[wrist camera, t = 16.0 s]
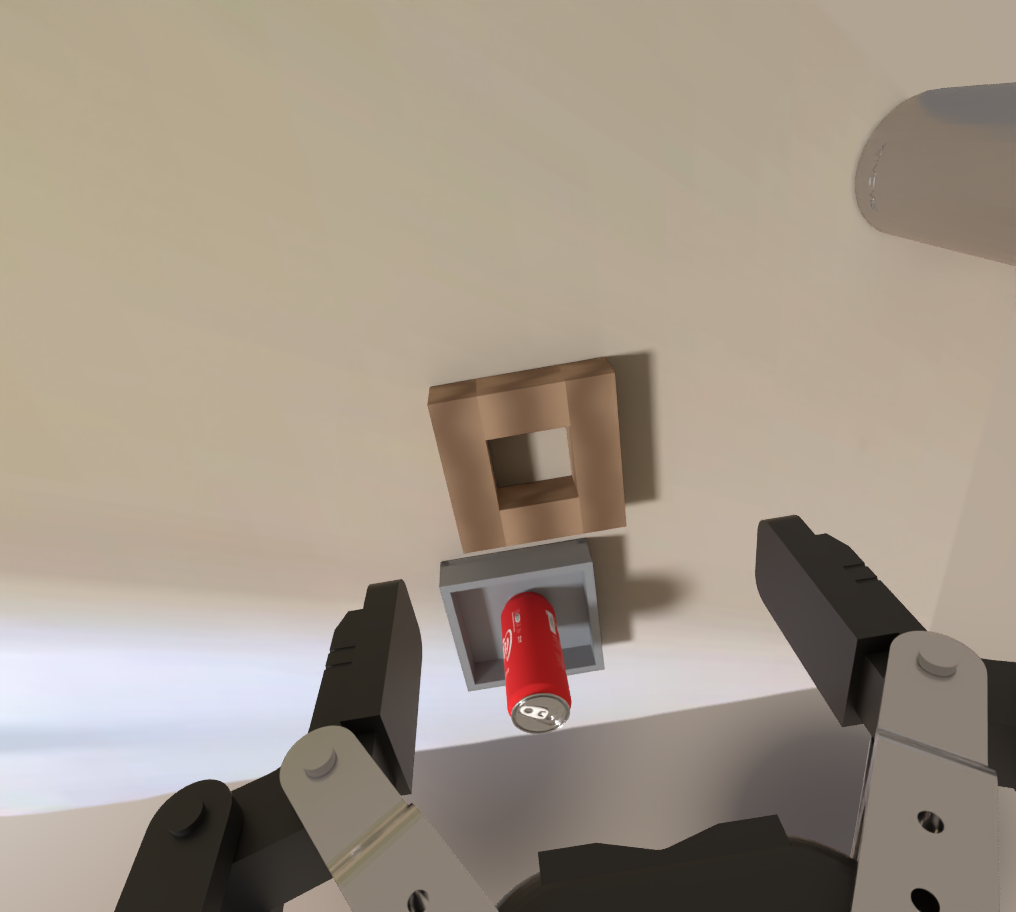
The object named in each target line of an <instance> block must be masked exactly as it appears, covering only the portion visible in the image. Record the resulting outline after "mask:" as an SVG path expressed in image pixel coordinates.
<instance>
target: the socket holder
mask: <svg viewBox="0 0 1016 912" xmlns="http://www.w3.org/2000/svg"><path fill="white" fill-rule="evenodd" d="M428 409H429V413H430V417H431V421H432V426H433V430H434V434H435V438H436V442H437V446H438V450H439V454H440V458H441V462H442V466H443V471H444V475H445V479H446V483H447V487H448V491H449V495H450V499H451V503H452V507H453V512H454V516H455V520H456V524H457V528H458V532H459V536H460V540H461V544H462V548H463V553H469V552H475V551H481V550H487V549H493V548H499V547H505V546H511V545H517V544H523V543H529V542H535V541H541V540H547V539H553V538H559V537H565V536H571V535H577V534H583V533H589V532H595V531H601V530H607V529H613V528H619V527H625V526H626V514H625V501H624V487H623V474H622V461H621V448H620V434H619V421H618V408H617V394H616V381H615V372H614V370H613V369H612V367H611V366H610V364H609V362H608V361H607V359H606V358H605V357H601V358H595V359H590V360H584V361H578V362H572V363H566V364H561V365H555V366H549V367H543V368H537V369H532V370H526V371H520V372H514V373H508V374H503V375H497V376H491V377H485V378H479V379H474V380H468V381H462V382H456V383H450V384H445V385H439V386H433V387H430V390H429V397H428ZM561 427H566V429H567V438H568V446H569V454H570V462H571V470H572V476H567V477H561V478H555V479H549V480H544V481H538V482H532V483H526V484H520V485H514V486H508V487H502V488H497V484H496V479H495V474H494V468H493V463H492V458H491V453H490V448H489V443H488V440H490V439H496V438H502V437H508V436H514V435H520V434H526V433H531V432H537V431H543V430H549V429H555V428H561Z"/></svg>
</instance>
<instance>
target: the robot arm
mask: <svg viewBox="0 0 1016 912" xmlns="http://www.w3.org/2000/svg"><path fill="white" fill-rule="evenodd" d="M855 193H856V198H857V203H858V206H859V208H860V210H861V213H862V215H863V217H864V218H865V219H866V220H867V221H868V222H869V224H870V225H871V226H873V227H874V228H876V229H878V230H879V231H881V232H884V233H887V234H891V235H894V236H898V237H902V238H906V239H910V240H914V241H918V242H921V243H925V244H929V245H933V246H937V247H941V248H945V249H949V250H953V251H957V252H961V253H965V254H969V255H973V256H977V257H981V258H985V259H989V260H993V261H997V262H1001V263H1005V264H1009V265H1013V266H1016V83H1004V84H991V85H978V86H977V85H976V86H965V87H953V88H941V89H936V90H929V91H926V92H923V93H921V94H918V95H916V96H913V97H911V98H910V99H908V100H906V101H905V102H903V103H902V104H900V105H899V106H897V107H896V108H895V109H894V110H893V111H892V112H891V113H890V114H888V115H887V116H886V117H885V118H884V119H883V121H882V122H881V123H880V124H879V126H878V127H877V128H876V129H875V130H874V132H873V134H872V135H871V137H870V139H869V140H868V142H867V144H866V146H865V148H864V150H863V153H862V155H861V158H860V160H859V164H858V169H857V173H856V187H855ZM755 578H756V584H757V588H758V591H759V594H760V597H761V599H762V601H763V603H764V604H765V606H766V607H767V609H768V611H769V612H770V614H771V615H772V617H773V619H774V620H775V622H776V623H777V625H778V626H779V628H780V630H781V631H782V633H783V634H784V636H785V638H786V639H787V641H788V642H789V644H790V645H791V647H792V649H793V650H794V652H795V653H796V655H797V656H798V658H799V660H800V661H801V663H802V664H803V666H804V668H805V669H806V671H807V672H808V674H809V675H810V677H811V679H812V680H813V682H814V683H815V685H816V687H817V688H818V690H819V691H820V693H821V694H822V696H823V697H824V699H825V701H826V702H827V704H828V706H829V707H830V709H831V710H832V712H833V713H834V715H835V717H836V718H837V720H838V721H839V723H840V725H841V726H842V727H846V726H852V725H858V724H864V725H865V727H866V728H867V730H868V731H869V732H870V734H871V740H870V744H869V751H868V756H867V762H866V769H865V775H864V781H863V787H862V793H861V800H860V805H859V812H858V818H857V824H856V830H855V835H854V841H853V846H852V851H851V856H850V857H849V856H847V855H846V854H844V853H842V852H840V851H838V850H836V849H833V848H831V847H829V846H827V845H824V844H821V843H819V842H816V841H813V840H810V839H806V838H802V837H798V836H793V835H786V833H785V831H784V829H783V826H782V824H781V822H780V820H779V818H778V816H777V815H771V816H764V817H758V818H752V819H745V820H739V821H732V822H726V823H720V824H717V825H714V826H712V827H711V828H708V829H706V830H704V831H702V832H700V833H698V834H696V835H694V836H692V837H689V838H687V839H685V840H683V841H681V842H679V843H677V844H675V845H673V846H671V847H669V848H666V849H662V850H652V849H643V848H635V847H627V846H618V845H609V844H602V843H592V844H586V845H580V846H574V847H568V848H561V849H554V850H548V851H542V852H538V857H539V866H540V872H538V873H536V874H534V875H532V876H531V877H529V878H527V879H525V880H524V881H522V882H521V883H519V884H518V885H516V886H515V887H514V888H513V889H512V890H511V891H509V892H508V893H507V894H506V895H505V896H504V897H503V898H502V899H501V900H500V901H499V902H498V903H497V905H496V906H494V905H493V904H492V902H491V901H490V900H489V898H488V897H487V896H486V894H485V893H484V892H483V890H482V889H481V888H480V887H479V885H478V884H477V883H476V882H475V880H474V879H473V878H472V876H471V875H470V874H469V873H468V872H467V870H466V869H465V867H464V866H463V865H462V864H461V862H460V861H459V860H458V858H457V857H456V856H455V855H454V853H453V852H452V851H451V850H450V848H449V847H448V846H447V844H446V843H445V842H444V840H443V839H442V838H441V837H440V835H439V834H438V833H437V832H436V830H435V829H434V828H433V826H432V825H431V824H430V823H429V821H428V820H427V819H426V817H425V816H424V815H423V814H422V813H421V811H420V810H419V809H418V808H417V807H416V806H415V805H414V804H412V803H411V804H410V805H408V804H407V803H406V802H405V801H404V799H403V798H402V797H401V795H408V794H411V790H412V778H413V766H414V753H415V741H416V728H417V715H418V703H419V690H420V677H421V665H422V642H421V635H420V630H419V626H418V623H417V620H416V617H415V613H414V610H413V607H412V604H411V601H410V598H409V594H408V591H407V588H406V585H405V583H404V581H403V580H402V579H400V580H394V581H388V582H382V583H376V584H370V585H369V586H368V588H367V593H366V597H365V602H364V607H363V609H360V610H354V611H348V613H347V614H346V615H345V617H344V618H343V619H342V621H341V622H340V624H339V625H338V626H337V628H336V629H335V631H334V635H333V639H332V643H331V647H330V654H328V658H327V662H326V670H324V674H323V678H322V681H321V685H320V689H319V693H318V697H317V701H316V705H315V709H314V713H313V716H312V720H311V724H310V728H309V731H308V734H306V735H305V736H303V737H302V738H301V739H300V740H298V741H297V742H296V743H295V744H294V745H293V746H292V748H291V749H290V750H289V751H288V753H287V755H286V756H285V758H284V760H283V762H282V765H281V767H280V768H278V769H277V770H275V771H273V772H271V773H270V774H268V775H266V776H263V777H261V778H259V779H257V780H255V781H253V782H250V783H248V784H246V785H244V786H242V787H240V788H237V789H235V790H233V791H230V790H229V788H228V787H227V786H226V785H225V784H224V783H223V782H221V781H218V780H210V779H208V780H202V781H198V782H195V783H193V784H190V785H188V786H186V787H184V788H183V789H181V790H179V791H178V792H177V793H175V794H174V795H173V796H172V797H170V798H169V799H168V800H167V801H166V802H165V803H164V804H163V805H162V806H161V807H160V809H159V810H158V811H157V812H156V814H155V815H154V817H153V818H152V820H151V822H150V824H149V826H148V828H147V831H146V833H145V836H144V838H143V841H142V843H141V846H140V848H139V851H138V853H137V856H136V858H135V861H134V863H133V866H132V868H131V871H130V873H129V876H128V878H127V881H126V884H125V886H124V888H123V891H122V893H121V896H120V899H119V901H118V903H117V906H116V909H115V911H114V912H283V906H284V903H286V902H288V901H290V900H292V899H293V898H296V897H297V896H299V895H301V894H303V893H305V892H307V891H309V890H311V889H313V888H314V887H316V886H318V885H320V884H322V883H324V882H326V881H328V880H330V879H332V878H334V880H335V882H336V883H337V885H338V887H339V889H340V891H341V892H342V894H343V896H344V897H345V899H346V901H347V903H348V905H349V906H350V908H351V910H352V911H353V912H1000V889H999V887H1000V885H999V826H998V786H1002V787H1008V788H1014V789H1015V791H1016V662H1007V661H996V660H988V659H982V658H980V657H979V656H978V655H977V654H976V653H975V652H974V651H973V650H971V649H970V648H969V647H967V646H966V645H964V644H963V643H961V642H959V641H957V640H955V639H953V638H951V637H948V636H946V635H943V634H939V633H934V632H929V631H927V630H926V629H925V628H924V627H923V626H922V625H921V624H920V623H919V622H918V620H917V619H916V618H915V617H914V616H913V615H912V614H911V613H910V612H909V611H908V610H907V609H906V607H905V606H904V605H903V604H902V603H901V602H900V601H899V600H898V599H897V598H896V597H895V596H894V594H893V593H892V592H891V591H890V590H889V589H888V588H887V587H886V586H885V585H884V584H883V583H882V581H881V580H879V581H878V579H877V576H876V575H875V574H874V573H873V572H872V571H871V570H870V568H869V567H868V566H867V567H866V566H865V563H864V562H863V561H862V560H861V559H860V558H859V557H858V555H857V554H856V553H855V552H854V551H853V550H852V549H851V548H850V547H849V546H848V545H846V544H844V543H842V542H841V541H839V540H837V539H835V538H833V537H832V536H830V535H828V534H826V533H825V534H819V535H815V534H814V533H813V532H812V531H811V529H810V528H809V527H808V526H807V525H806V524H805V522H804V521H803V520H802V519H801V518H800V517H799V516H797V515H790V516H784V517H778V518H772V519H766V520H762V521H760V522H759V525H758V533H757V551H756V569H755Z"/></svg>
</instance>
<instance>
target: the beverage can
mask: <svg viewBox="0 0 1016 912" xmlns="http://www.w3.org/2000/svg"><path fill="white" fill-rule="evenodd" d="M501 628H502V642H503V655H504V668H505V682H506V695H507V708H508V712H509V715H510V716H511V719H512V722H513V724H514V725H515V726H516V727H517V728H518V729H520V730H522V731H524V732H527V733H531V734H544V733H549V732H552V731H554V730H557V729H558V728H560V727H561V726H563V725H564V724H565V723H566V721H567V720H568V718H569V715H570V708H571V696H570V691H569V686H568V680H567V675H566V670H565V664H564V659H563V654H562V648H561V643H560V638H559V632H558V627H557V622H556V616H555V611H554V609H553V607H552V605H551V604H550V603H549V602H548V601H547V599H546V598H545V597H544V596H543V595H541V594H539V593H536V592H531V591H527V592H521V593H518V594H515V595H514V596H512V597H511V598H510V599H509V600H508V601H507V602H506V604H505V608H504V609H503V611H502V614H501Z"/></svg>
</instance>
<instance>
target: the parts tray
mask: <svg viewBox="0 0 1016 912" xmlns="http://www.w3.org/2000/svg"><path fill="white" fill-rule="evenodd" d="M439 588H440V592H441V595H442V599H443V602H444V606H445V609H446V613H447V617H448V620H449V624H450V627H451V631H452V635H453V638H454V642H455V645H456V649H457V653H458V656H459V660H460V663H461V667H462V670H463V674H464V678H465V681H466V685H467V688H468V692H469V691H475V690H481V689H487V688H493V687H499V686H505V685H506V682H505V668H504V655H503V642H502V628H501V614H502V611H503V609H504V608H505V604H506V602H507V601H508V600H509V599H510V598H511V597H512V596H514V595H515V594H518V593H521V592H527V591H531V592H536V593H539V594H541V595H543V596H544V597H545V598H546V599H547V601H548V602H549V603H550V604H551V605H552V607H553V609H554V611H555V616H556V622H557V627H558V632H559V638H560V643H561V648H562V654H563V659H564V664H565V670H566V675H573V674H579V673H585V672H591V671H598V670H604V660H603V651H602V642H601V633H600V625H599V616H598V607H597V598H596V589H595V580H594V572H593V563H592V559H591V555H590V552H589V549H588V545H587V542H586V539H585V538H582V539H576V540H570V541H564V542H558V543H552V544H546V545H540V546H534V547H528V548H522V549H516V550H510V551H504V552H498V553H492V554H486V555H480V556H474V557H468V558H462V559H456V560H450V561H444V562H441V565H440V584H439Z"/></svg>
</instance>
